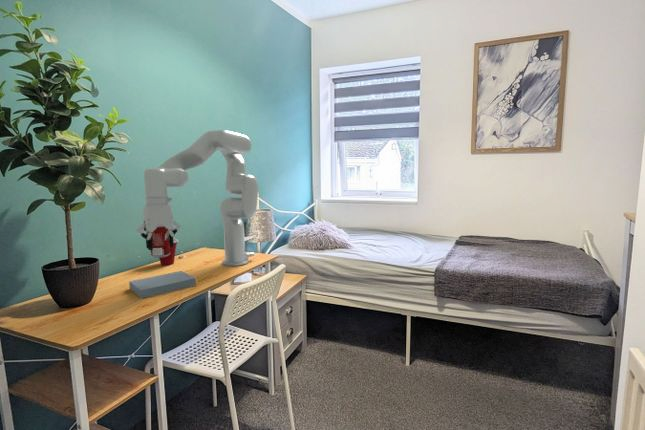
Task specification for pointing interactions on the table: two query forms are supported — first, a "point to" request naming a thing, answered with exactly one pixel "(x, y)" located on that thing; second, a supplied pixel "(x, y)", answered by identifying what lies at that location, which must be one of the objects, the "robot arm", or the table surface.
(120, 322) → the table surface
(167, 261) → the plastic cup
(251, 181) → the robot arm
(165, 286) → the block
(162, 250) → the soda can
